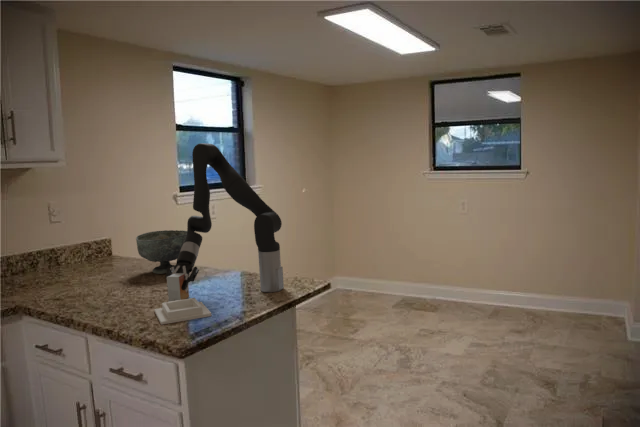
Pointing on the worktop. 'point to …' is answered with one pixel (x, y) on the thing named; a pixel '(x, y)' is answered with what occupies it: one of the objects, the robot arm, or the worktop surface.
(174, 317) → the off-white tray
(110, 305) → the worktop surface
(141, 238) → the decorative bowl
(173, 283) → the small box
